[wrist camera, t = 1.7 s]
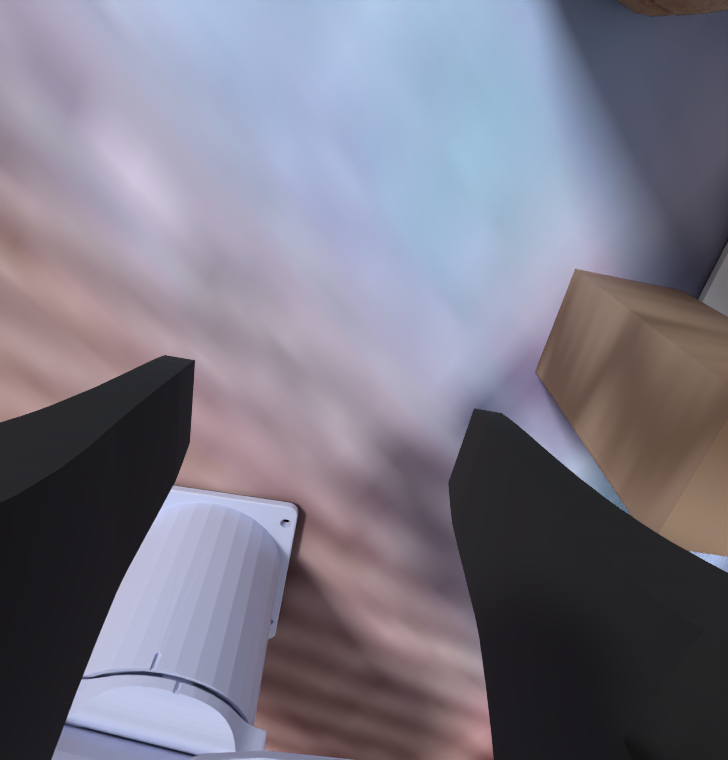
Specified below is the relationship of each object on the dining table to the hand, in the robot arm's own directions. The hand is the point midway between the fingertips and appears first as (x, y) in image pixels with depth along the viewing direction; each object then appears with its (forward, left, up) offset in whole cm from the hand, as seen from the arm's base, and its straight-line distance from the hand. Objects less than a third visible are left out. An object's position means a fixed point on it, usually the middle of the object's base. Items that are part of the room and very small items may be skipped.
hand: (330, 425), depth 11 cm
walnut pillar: (0, -11, -10) cm, 15 cm away
